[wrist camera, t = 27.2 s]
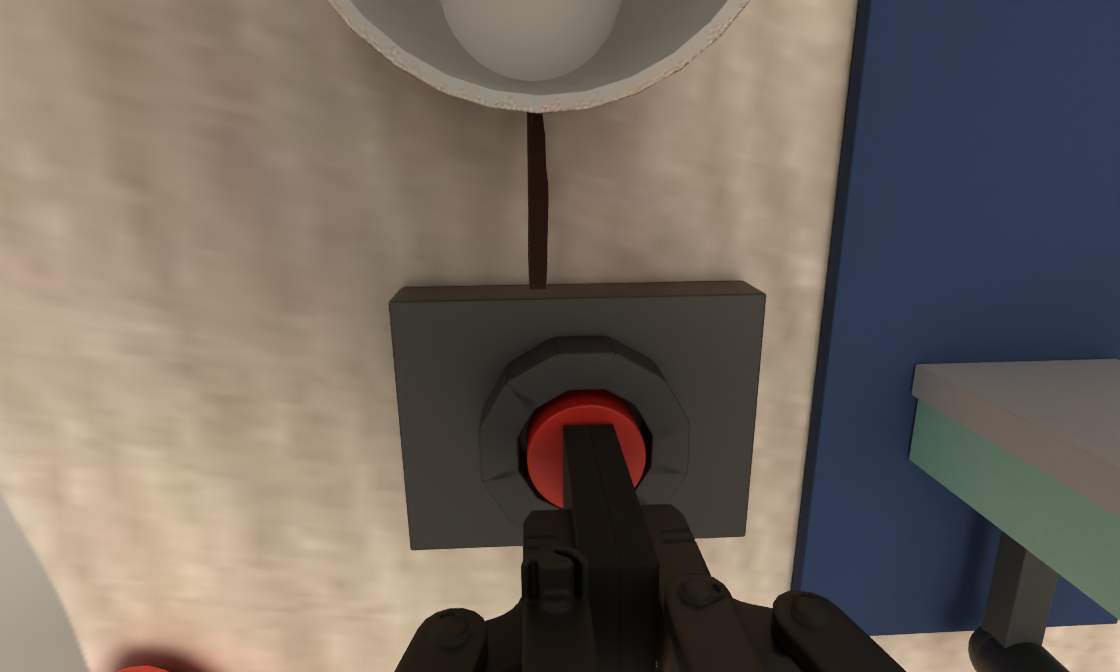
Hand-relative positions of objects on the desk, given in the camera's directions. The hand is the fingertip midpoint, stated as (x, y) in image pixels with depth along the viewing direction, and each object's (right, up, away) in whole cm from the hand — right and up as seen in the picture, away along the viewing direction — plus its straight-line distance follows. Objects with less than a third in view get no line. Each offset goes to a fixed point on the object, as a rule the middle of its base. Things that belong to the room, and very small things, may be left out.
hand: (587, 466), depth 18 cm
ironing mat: (+16, +6, +4) cm, 17 cm away
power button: (0, +1, +2) cm, 2 cm away
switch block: (0, +1, +4) cm, 5 cm away
